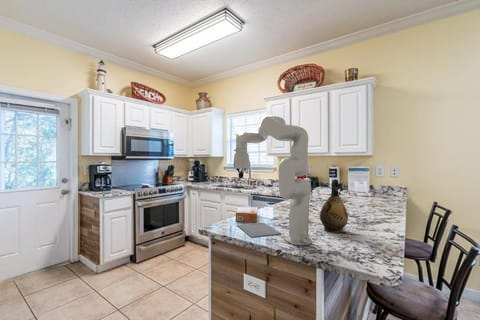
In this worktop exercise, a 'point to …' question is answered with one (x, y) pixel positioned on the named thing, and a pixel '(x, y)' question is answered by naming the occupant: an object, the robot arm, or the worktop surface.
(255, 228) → the mat
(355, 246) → the worktop surface
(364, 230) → the worktop surface
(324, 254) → the worktop surface
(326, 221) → the ceramic jug
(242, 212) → the cracker box
